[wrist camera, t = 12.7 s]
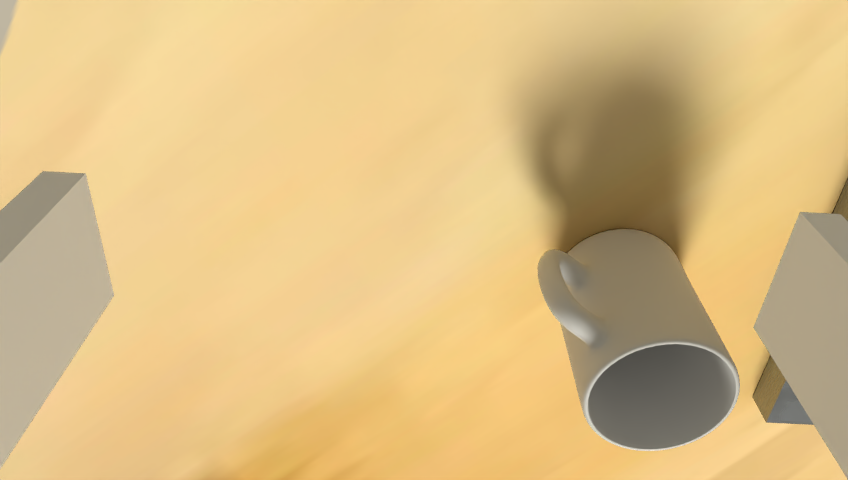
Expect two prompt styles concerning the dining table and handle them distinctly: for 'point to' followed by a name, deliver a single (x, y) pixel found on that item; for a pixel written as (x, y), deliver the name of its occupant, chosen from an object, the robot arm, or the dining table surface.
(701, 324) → the mug
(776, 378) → the square hole plate
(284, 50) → the dining table surface
